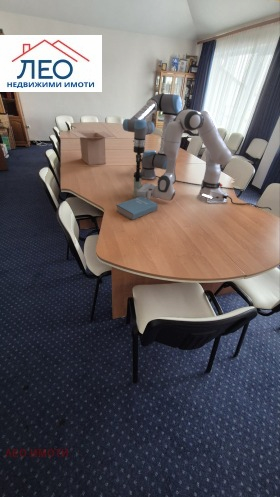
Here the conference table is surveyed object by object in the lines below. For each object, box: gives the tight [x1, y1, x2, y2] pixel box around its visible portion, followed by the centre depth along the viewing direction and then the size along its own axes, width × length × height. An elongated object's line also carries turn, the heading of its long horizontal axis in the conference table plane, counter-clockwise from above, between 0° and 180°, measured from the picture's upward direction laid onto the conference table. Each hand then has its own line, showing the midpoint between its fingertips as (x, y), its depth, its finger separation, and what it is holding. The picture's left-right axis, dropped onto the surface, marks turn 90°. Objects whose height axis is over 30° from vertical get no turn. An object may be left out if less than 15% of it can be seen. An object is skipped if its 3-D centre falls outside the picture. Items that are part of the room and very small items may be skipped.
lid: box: [132, 172, 142, 179], centre depth 160 cm, size 6×6×2 cm
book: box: [116, 196, 159, 221], centre depth 148 cm, size 23×16×5 cm
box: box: [70, 129, 114, 166], centre depth 229 cm, size 44×36×27 cm
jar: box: [132, 177, 142, 198], centre depth 165 cm, size 5×5×16 cm
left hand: (137, 179), depth 162 cm, fingers closed on lid, 6 cm apart
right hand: (135, 187), depth 166 cm, fingers closed on jar, 5 cm apart
